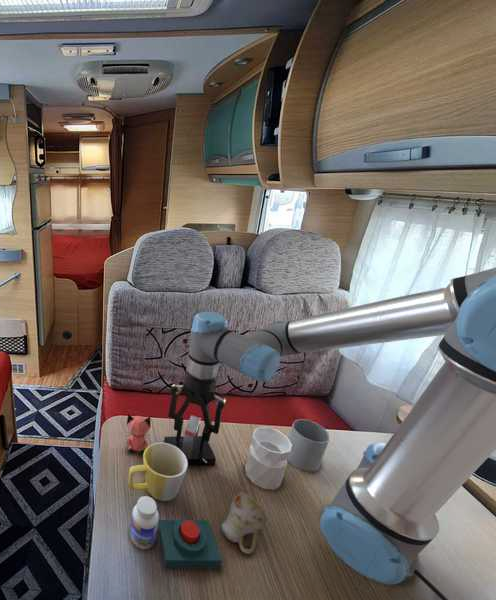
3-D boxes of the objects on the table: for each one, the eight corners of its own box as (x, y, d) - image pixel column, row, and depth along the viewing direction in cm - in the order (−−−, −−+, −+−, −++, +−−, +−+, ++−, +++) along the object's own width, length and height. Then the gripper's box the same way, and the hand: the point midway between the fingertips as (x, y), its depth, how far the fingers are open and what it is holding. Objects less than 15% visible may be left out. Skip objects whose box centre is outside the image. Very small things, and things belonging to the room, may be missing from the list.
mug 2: (209, 531, 72) (221, 486, 73) (236, 529, 77) (247, 486, 77) (239, 557, 65) (252, 507, 66) (266, 553, 70) (278, 506, 71)
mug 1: (177, 473, 85) (182, 442, 81) (187, 510, 76) (192, 478, 72) (125, 471, 85) (127, 440, 82) (128, 509, 76) (130, 476, 72)
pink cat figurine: (123, 456, 90) (125, 422, 85) (124, 438, 96) (127, 405, 92) (149, 460, 89) (152, 425, 85) (148, 441, 95) (152, 408, 91)
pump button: (195, 525, 69) (196, 520, 68) (200, 543, 66) (201, 538, 65) (178, 525, 69) (179, 520, 68) (182, 543, 66) (183, 538, 65)
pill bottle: (126, 542, 69) (129, 511, 65) (134, 519, 74) (137, 488, 70) (152, 554, 67) (156, 522, 63) (158, 530, 72) (162, 498, 68)
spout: (187, 435, 94) (191, 414, 91) (197, 439, 93) (200, 417, 90) (180, 455, 88) (184, 432, 85) (190, 459, 86) (194, 436, 84)
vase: (287, 479, 84) (299, 443, 80) (269, 496, 80) (280, 459, 75) (255, 456, 91) (264, 422, 87) (237, 471, 86) (245, 435, 82)
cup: (326, 472, 86) (337, 443, 83) (294, 471, 87) (304, 442, 83) (307, 447, 94) (316, 419, 91) (278, 446, 94) (286, 418, 91)
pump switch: (206, 526, 72) (209, 514, 71) (219, 567, 65) (223, 554, 64) (157, 526, 72) (159, 514, 71) (164, 567, 65) (166, 554, 63)
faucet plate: (202, 439, 96) (204, 432, 95) (216, 470, 86) (218, 462, 85) (162, 439, 96) (163, 432, 95) (171, 470, 86) (172, 463, 85)
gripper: (243, 375, 80) (227, 447, 89) (169, 355, 88) (161, 423, 97) (240, 392, 74) (223, 467, 83) (160, 369, 82) (152, 440, 91)
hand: (189, 443), depth 90 cm, fingers open, 6 cm apart
